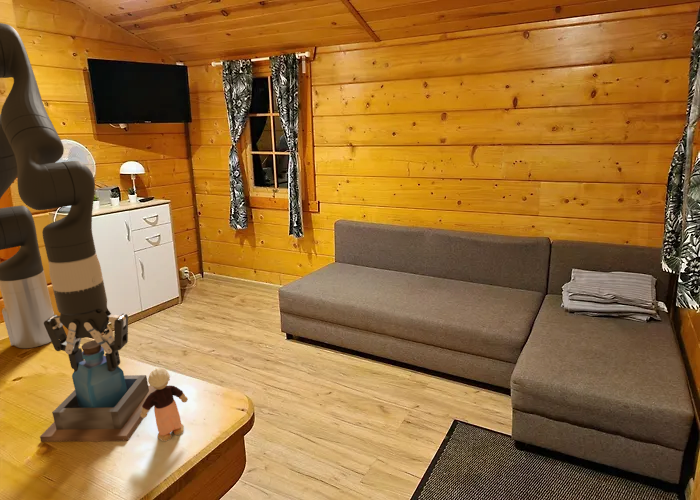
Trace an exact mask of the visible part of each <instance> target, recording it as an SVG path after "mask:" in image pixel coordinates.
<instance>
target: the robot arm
mask: <svg viewBox="0 0 700 500" xmlns="http://www.w3.org/2000/svg"><path fill="white" fill-rule="evenodd" d="M9 78H11V79H12V80H13V84H12V87H11V90H10V92H9V93H8V94H7V97H6V99H5V100H4V103H3V105H2V108H1V112H0V200H1V198H2V197H3V195H4V194H5V193H6V192H7V191H8V190H9V188H10V187H11V186H12V184H14V182H15V180H16V179H17V190H18V195H19V198H20V200H21V201H22V202H23V204H25V205H26V206H25V205H14V206H13V205H12V206H6V207H1V208H0V251H2V250H3V251H4V250H7V249H11V248H17V247H19V249H18V251H17V252H16V253H14V254H13V255H12V256H11V257H9V258H8V259H6V260H4V261H2V262H0V292H1V296H2V301H3V305H4V307H3V308H2V310H1V313H2V316H3V317H2V318H3V321H4V324H5V329H6V331H7V335H8V338H9V342H10V346H15V347H16V348H19V349H32V348H36V347H41V346H44V345H47V344H49V343H51V344H52V346H53V349H54V350H55V351H56V352H61V351H62V352H65V354H67V355H68V359H69V360H68V361H69V364H70V367H71V369H72V370H73V372H74V371H75V372H76V371H77V370H78V363H79V362H81V361H84V359H83V356H82V352H83V349H82V347H81V348H80V345H81V342H82V339H85V338H89V339H94V340H95V341H96V342H97V344H100V345H101V346H102V347H103V349H104V356H106V361H107V366H108V370H109V371H115V369H116V368H117V367H118V366H119V367H120V364H121V358H120V352H119V351H120V350H121V349H123V348H124V346H126V344H128V342H129V316H128V314H127V313H122V314H121V315H118V314H112V312H111V311H110V310H109V309H108V298H107V293H106V287H105V283H104V278H103V273H102V267H101V263H100V261H99V258H98V255H97V251H96V246H95V240H94V235H93V230H92V229H93V227H92V225H93V223H92V221H93V209H94V208H93V207H94V201H95V194H96V182H95V181H96V180H95V177H94V175H93V172H92V171H91V169H90V168H89V167H88V166H87V165H86V164H85V163H83V162H81V161H78V160H69V161H67V160H66V161H59V160H61V158H63V156H64V153H65V152H64V151H65V150H64V149H65V148H64V145H63V141H62V140H61V138H60V136H59V134H58V131H57V130H56V128H55V127H54V124H53V122H52V120H51V119H50V116H49V115H48V112H47V110H46V108H45V105H44V102H43V99H42V96H41V92H40V89H39V88H40V87H39V86H38V83H37V80H36V76H35V73H34V70H33V67H32V63H31V61H30V58H29V55H28V52H27V49H26V47H25V44H24V42H23V39H22V37H21V35H20V34H19V32H18V31H17V30H16V29H15V28H14V26H11V25H10V24H8V23H7V24H6V23H2V22H0V79H9ZM58 161H59V162H58ZM27 207H29V208H30V209H33V210H36V211H46V210H53V209H58V208H64V207H70V209H69V211H68V213H67V215H65V216H64V217H63V218H60V219H59V220H56V221H53V222H50V223H48V224H47V225H46V226H44V227H43V229H42V239H43V243H44V249H45V252H46V257H47V260H48V271H49V278H50V281H51V286H52V290H53V291H52V292H53V295H54V299H55V303H56V309H57V311H58V313H59V314H60V315H57V314H55V311H54V307H53V305H52V299H51V295H50V291H49V288H48V283H47V278H46V274H45V269H44V267H43V261H42V256H41V251H40V248H39V242H38V234H37V228H36V224H35V219H34V217H33V214H32V212H31V211H30V209H29V208H27ZM109 323H110V324H111V327H110V326H109ZM65 328H66V329H67V333H66V330H65ZM112 329H114V331H113V330H112ZM102 334H103V335H102Z"/></svg>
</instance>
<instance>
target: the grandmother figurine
mask: <svg viewBox="0 0 700 500" xmlns="http://www.w3.org/2000/svg"><path fill="white" fill-rule="evenodd" d="M170 378H171V376H170V373H169V372H168V370H167V369H166V368H165V367H157V368H155V369H153V370H152V371H150V374H149V375H148V377H147V382H148V385H149V386H151V387H154V388H155V389H157V390H155V391H154V392H152V393H150V394H149V395H148V397H147V398H146V400H145V402H144V404H143V405H142V407H143V408H142V412H141V414H140V416H141V417H142V418H143V419H144V418H146V417H147V416H148V412H149V411H150V410H151V409H153V407H154V410H153V411H154V417H155V422H156V423H155V424H156V427H157V431H158V433H157V438H158V439H159V440H161V441H162V442H167V441H169V440H171V438H172V434H171V433H173V435H176V436H178V435H182V434H183V433H184V431H185V428H184V424H183V423H182V421H181V416H180V412H179V408H178V405H177V403H176V401H175V399H174V397H177V398H178V399H180V400H181V402H182V403H185V404H186V403H187V402H188V399H189V398H188V397H187V396H186V394H185V393H184V391H183V390H181V389H180V388H178V387H177V386H175V385H168V384H169V382H170ZM181 433H182V434H181Z"/></svg>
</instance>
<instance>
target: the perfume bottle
mask: <svg viewBox="0 0 700 500" xmlns="http://www.w3.org/2000/svg"><path fill="white" fill-rule="evenodd" d="M81 349H82V356H83V359H84V361H81V362H79V363H78V370H77V371H76V372H75V371H74V370H73V373H72V375H71V378H72V379H71V380H72V383H73V387H74V390H75V392H76V396H77V400H78V405H79V406H80V407H81V408H109V407H115V406H116V404H117V403H118V402H119V401H120V399H121V398H122V397H123V396H124V395H125V393H126V392H127V388H126V383H125V378H124V376H125V373H124V370H123V369H122V368H121V367H120V365H119V366H118V367H117V368H116V369H115V371H109V370H108V366H107V361H106V356H105V350H104V349H103V347H102V346H101V345H100V344H97V342H96V341H95V339H94V340H89V341H87V342H85V343H82V345H81Z"/></svg>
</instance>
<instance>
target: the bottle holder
mask: <svg viewBox="0 0 700 500" xmlns="http://www.w3.org/2000/svg"><path fill="white" fill-rule="evenodd" d="M124 378H125V383H126V388H127V392H126V393H125V395H124V396H123V397H122V398H121V399H120V401H119V402H118V403H117V404H116V406H115V407H109V408H81V407H80V406H79V405H78V400H77V396H76V392H75V389H74V390H72V392H71V393H70V394H69V395H68V396H67V397H66V398H65V399H64V400H62V402H61V403H60V404H59V405H57V407H56V408H55V409H54V410H53V411H52V418H53V423H51V424H50V425H49V427H48V428H47V429H46V430H45V431H44V432H43V433H41V434H40V436H39V439H40V442H46V443H47V442H113V441H114V442H119V441H120V442H121V441H122V442H124V441H128V440H130V438H131V436H132V434H133V433H134V432H135V430H136V429H137V427H138V426H139V425H140V423H141V422H142V421H143V419H144V418H142V417H141V416H140V414H141V412H142V408H143V407H142V405H143V404H144V402H145V400H146V398H147V397H148V395H149V394H150V393H152V392H154V391H155V390H157V389H155V388H154V387H151V386H150V385H149V382H148V377H147V375H145V374H141V375H140V374H138V375H137V374H135V375H131V374H130V375H125V374H124Z"/></svg>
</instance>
